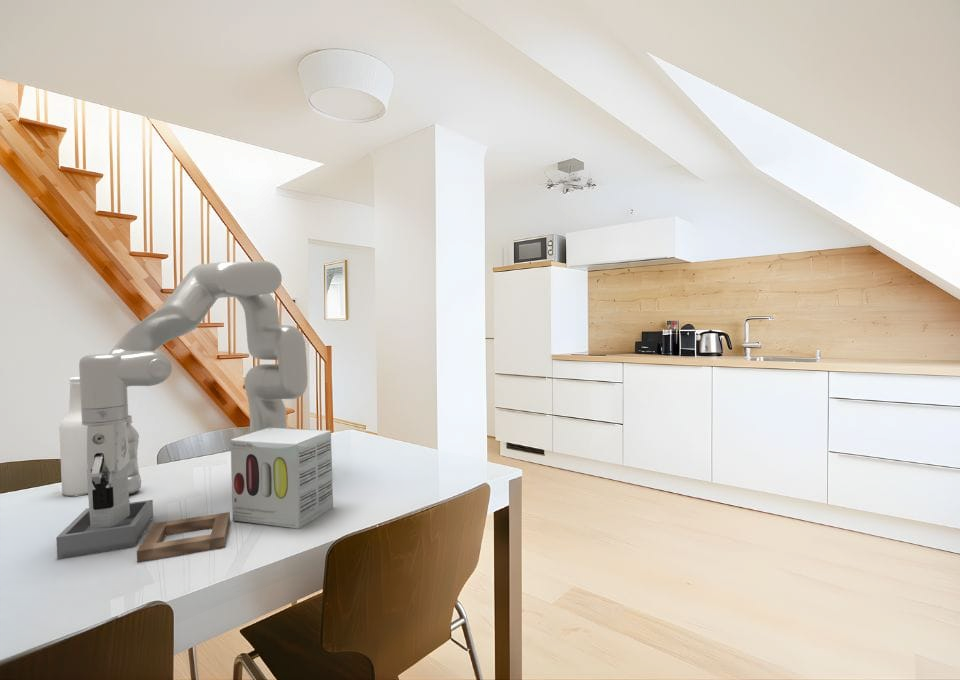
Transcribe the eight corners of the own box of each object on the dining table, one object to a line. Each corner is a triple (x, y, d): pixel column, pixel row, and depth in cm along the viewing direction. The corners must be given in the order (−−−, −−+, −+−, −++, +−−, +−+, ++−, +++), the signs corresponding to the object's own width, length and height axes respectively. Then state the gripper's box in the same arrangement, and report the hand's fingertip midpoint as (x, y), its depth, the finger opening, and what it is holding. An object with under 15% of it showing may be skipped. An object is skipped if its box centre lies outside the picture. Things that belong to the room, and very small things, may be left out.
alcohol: (81, 485, 134) (77, 375, 133) (113, 485, 134) (108, 375, 133) (52, 497, 125) (47, 379, 124) (86, 496, 125) (81, 378, 124)
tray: (153, 517, 110) (152, 499, 110) (135, 546, 95) (134, 525, 95) (87, 527, 105) (86, 508, 105) (57, 559, 91) (56, 537, 90)
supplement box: (230, 522, 106) (227, 439, 106) (271, 501, 119) (269, 426, 119) (299, 530, 102) (297, 443, 101) (335, 506, 114) (332, 429, 114)
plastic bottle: (125, 499, 122) (122, 419, 122) (103, 497, 124) (100, 418, 123) (148, 490, 129) (145, 414, 128) (126, 489, 130) (123, 414, 130)
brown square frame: (230, 521, 107) (229, 511, 107) (224, 547, 94) (224, 536, 94) (154, 532, 102) (153, 523, 101) (137, 562, 89) (136, 551, 89)
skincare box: (109, 517, 103) (106, 460, 103) (130, 515, 104) (128, 459, 103) (88, 529, 97) (85, 468, 97) (111, 527, 98) (108, 467, 97)
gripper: (115, 420, 93) (119, 513, 94) (138, 407, 109) (141, 486, 110) (65, 424, 90) (70, 520, 91) (96, 410, 106) (100, 492, 107)
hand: (109, 501), depth 100 cm, fingers closed on skincare box, 6 cm apart
